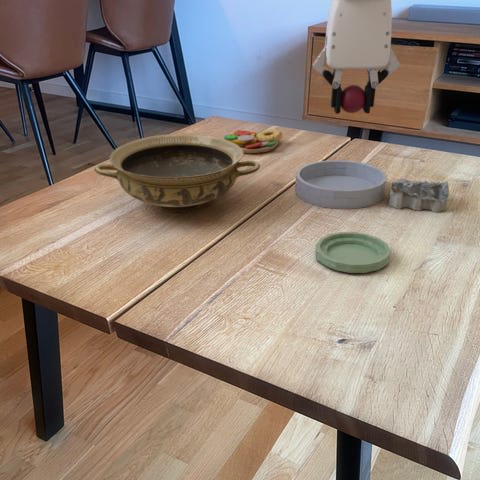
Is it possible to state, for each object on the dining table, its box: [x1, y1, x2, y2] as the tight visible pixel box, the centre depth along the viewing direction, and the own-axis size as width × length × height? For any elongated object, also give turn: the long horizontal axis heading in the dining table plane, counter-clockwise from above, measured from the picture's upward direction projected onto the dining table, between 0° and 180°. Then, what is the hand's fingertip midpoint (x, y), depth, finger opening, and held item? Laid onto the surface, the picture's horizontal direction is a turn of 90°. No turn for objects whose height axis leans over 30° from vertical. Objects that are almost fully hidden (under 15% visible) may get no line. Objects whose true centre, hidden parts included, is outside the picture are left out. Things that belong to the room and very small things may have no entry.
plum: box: [341, 84, 366, 114], centre depth 94 cm, size 4×4×4 cm
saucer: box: [315, 231, 392, 274], centre depth 86 cm, size 11×11×2 cm
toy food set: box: [223, 128, 283, 154], centre depth 134 cm, size 13×13×3 cm
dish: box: [294, 159, 388, 210], centre depth 109 cm, size 17×18×4 cm
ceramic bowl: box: [94, 133, 261, 213], centre depth 103 cm, size 30×24×10 cm
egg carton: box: [388, 178, 450, 213], centre depth 103 cm, size 11×8×4 cm
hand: (351, 110), depth 95 cm, fingers closed on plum, 4 cm apart
